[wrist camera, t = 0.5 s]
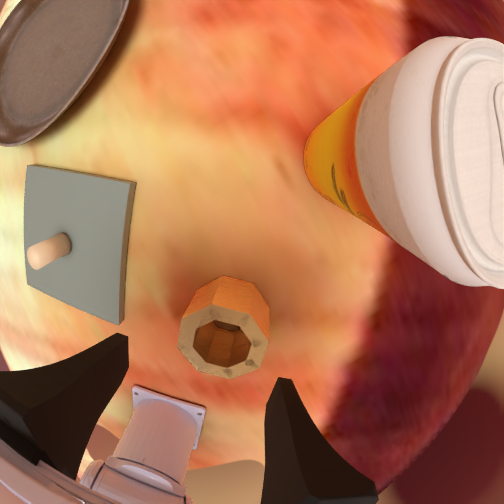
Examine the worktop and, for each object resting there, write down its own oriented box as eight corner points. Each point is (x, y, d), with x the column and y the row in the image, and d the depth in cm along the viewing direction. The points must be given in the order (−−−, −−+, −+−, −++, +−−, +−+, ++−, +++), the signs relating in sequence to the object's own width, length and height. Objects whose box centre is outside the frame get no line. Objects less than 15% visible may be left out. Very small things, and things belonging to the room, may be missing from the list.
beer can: (309, 210, 18) (418, 340, 4) (294, 122, 17) (372, -9, 2) (390, 199, 18) (566, 275, 3) (377, 115, 16) (551, 58, 2)
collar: (256, 347, 22) (253, 384, 18) (190, 330, 22) (175, 364, 18) (275, 288, 20) (276, 320, 16) (201, 269, 20) (184, 296, 16)
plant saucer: (143, 109, 17) (121, 101, 14) (-6, 168, 19) (-27, 171, 16) (154, -56, 11) (143, -73, 8) (12, 21, 13) (-4, 16, 10)
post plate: (123, 320, 22) (97, 351, 17) (33, 280, 22) (2, 300, 17) (136, 182, 19) (99, 189, 14) (34, 164, 18) (-5, 169, 14)
